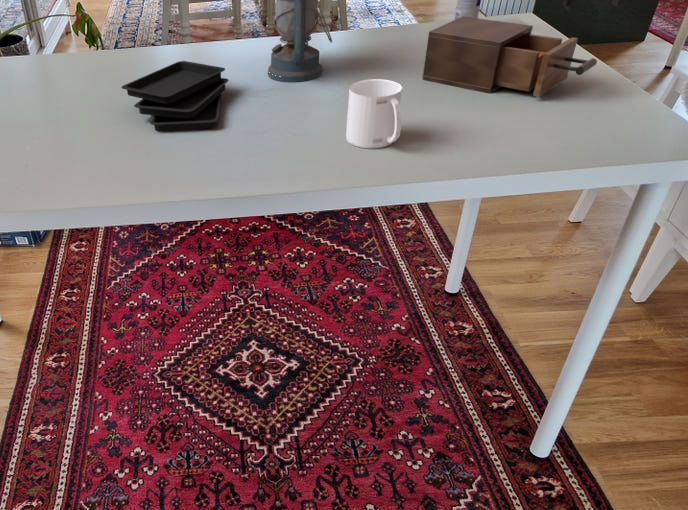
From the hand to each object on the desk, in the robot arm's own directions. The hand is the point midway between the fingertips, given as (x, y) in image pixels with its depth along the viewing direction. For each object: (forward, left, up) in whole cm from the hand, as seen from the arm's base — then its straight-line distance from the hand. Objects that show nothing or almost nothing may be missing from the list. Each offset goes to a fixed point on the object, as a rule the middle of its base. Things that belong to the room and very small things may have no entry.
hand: (592, 7), depth 118 cm
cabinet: (+20, 0, -16) cm, 26 cm away
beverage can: (+38, -29, -16) cm, 51 cm away
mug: (+17, +41, -16) cm, 48 cm away
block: (+9, 0, -14) cm, 16 cm away
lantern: (+54, +18, -16) cm, 60 cm away
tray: (+61, +50, -16) cm, 81 cm away
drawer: (+7, 0, -15) cm, 17 cm away
